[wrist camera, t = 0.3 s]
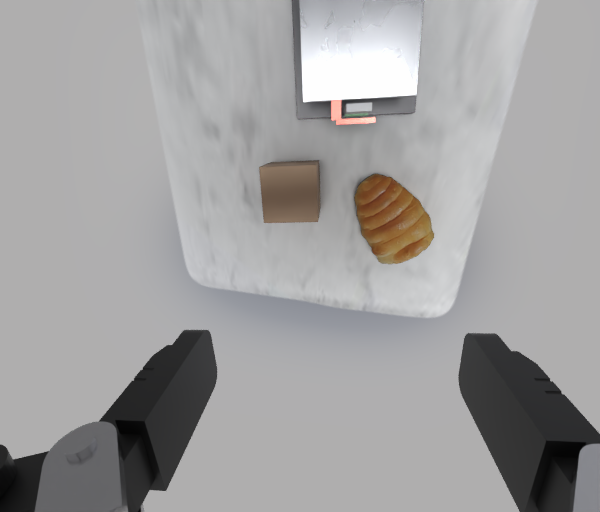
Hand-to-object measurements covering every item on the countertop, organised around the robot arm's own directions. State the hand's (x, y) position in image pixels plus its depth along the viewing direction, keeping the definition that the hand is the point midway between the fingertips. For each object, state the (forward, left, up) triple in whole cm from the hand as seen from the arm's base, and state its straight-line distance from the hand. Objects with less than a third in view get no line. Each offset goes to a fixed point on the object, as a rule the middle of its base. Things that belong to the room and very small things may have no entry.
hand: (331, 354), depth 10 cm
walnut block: (-2, -4, -26) cm, 26 cm away
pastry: (+2, +6, -26) cm, 27 cm away
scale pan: (-13, +2, -22) cm, 26 cm away
